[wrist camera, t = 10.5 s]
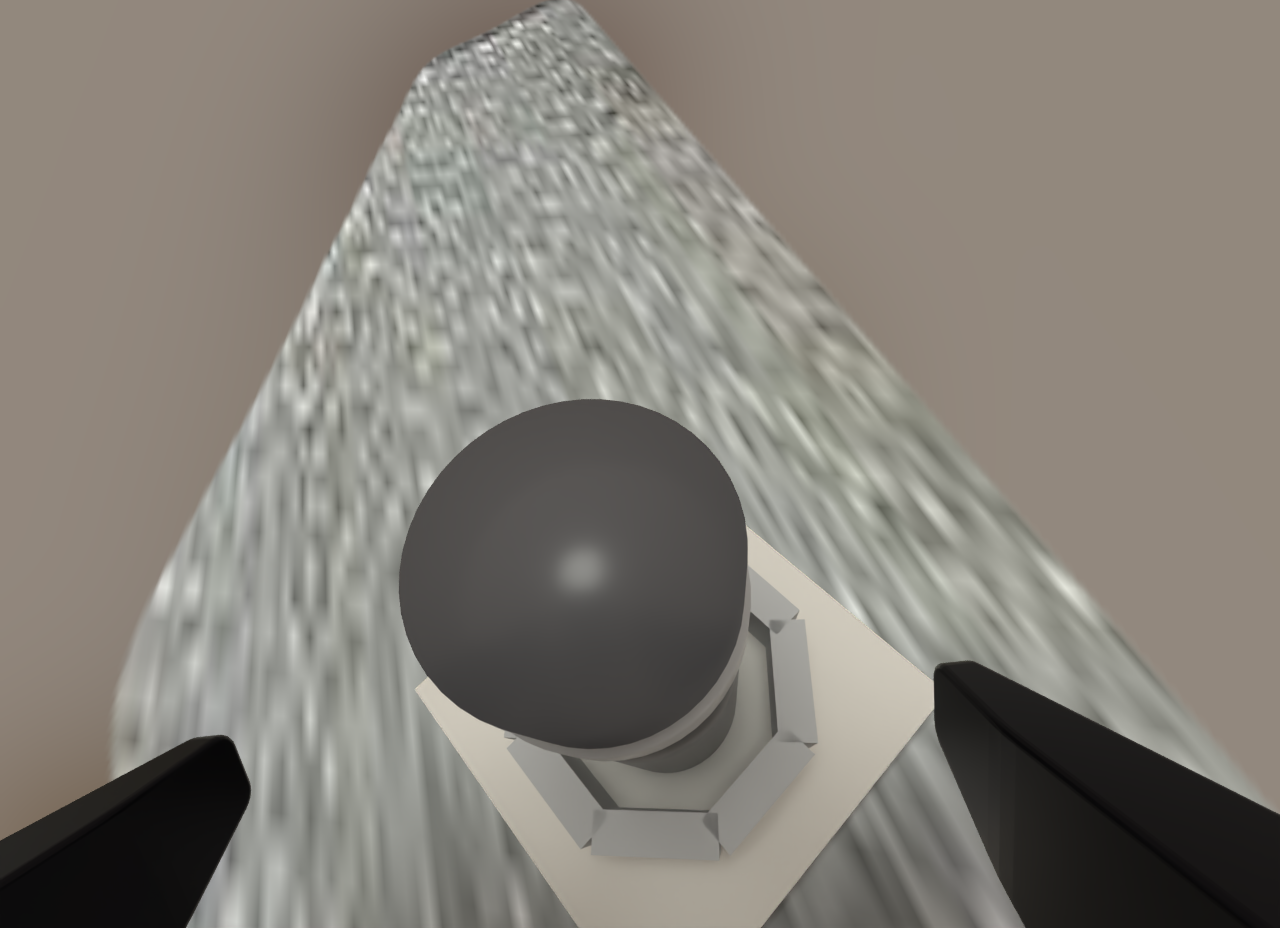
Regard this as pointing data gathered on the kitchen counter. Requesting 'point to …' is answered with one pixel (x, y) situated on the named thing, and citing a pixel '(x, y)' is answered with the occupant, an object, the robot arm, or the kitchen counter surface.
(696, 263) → the kitchen counter surface
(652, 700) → the dark grey capped cylinder
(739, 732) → the collar mount
